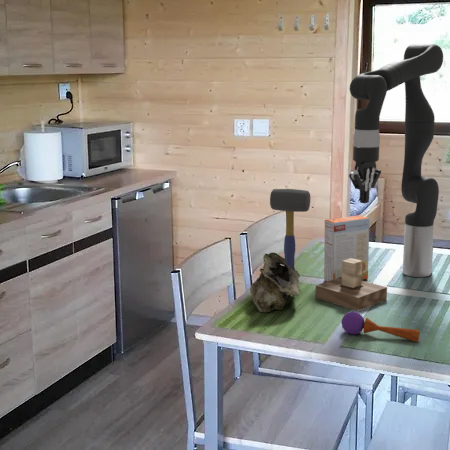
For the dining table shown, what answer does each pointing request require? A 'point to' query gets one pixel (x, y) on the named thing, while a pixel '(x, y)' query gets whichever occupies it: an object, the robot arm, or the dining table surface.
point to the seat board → (351, 294)
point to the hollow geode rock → (274, 284)
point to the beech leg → (351, 274)
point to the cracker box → (345, 244)
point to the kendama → (374, 327)
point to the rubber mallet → (290, 215)
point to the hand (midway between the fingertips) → (364, 202)
